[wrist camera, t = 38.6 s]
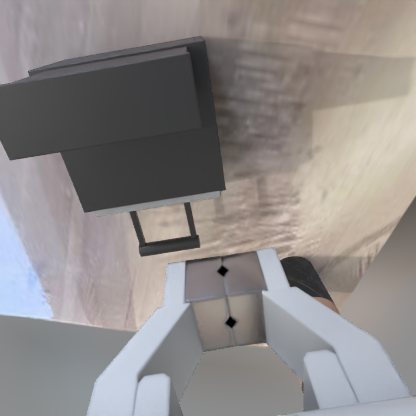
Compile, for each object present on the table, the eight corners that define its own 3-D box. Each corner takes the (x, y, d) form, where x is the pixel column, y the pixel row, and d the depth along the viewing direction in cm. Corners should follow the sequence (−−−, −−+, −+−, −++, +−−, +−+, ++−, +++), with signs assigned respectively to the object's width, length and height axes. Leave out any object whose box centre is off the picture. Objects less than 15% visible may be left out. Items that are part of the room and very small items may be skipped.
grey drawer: (222, 214, 44) (228, 246, 37) (124, 229, 44) (114, 264, 38) (198, 61, 34) (201, 70, 28) (74, 83, 34) (49, 96, 28)
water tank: (42, 68, 26) (-26, 90, 18) (188, 43, 26) (189, 52, 17) (62, 119, 28) (9, 160, 20) (197, 96, 28) (202, 128, 20)
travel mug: (269, 255, 49) (315, 383, 31) (319, 254, 49) (391, 380, 32) (264, 292, 53) (302, 425, 35) (310, 291, 53) (370, 422, 36)
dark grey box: (218, 157, 41) (225, 190, 33) (104, 176, 41) (84, 212, 33) (200, 36, 34) (204, 40, 26) (64, 59, 34) (27, 71, 26)
